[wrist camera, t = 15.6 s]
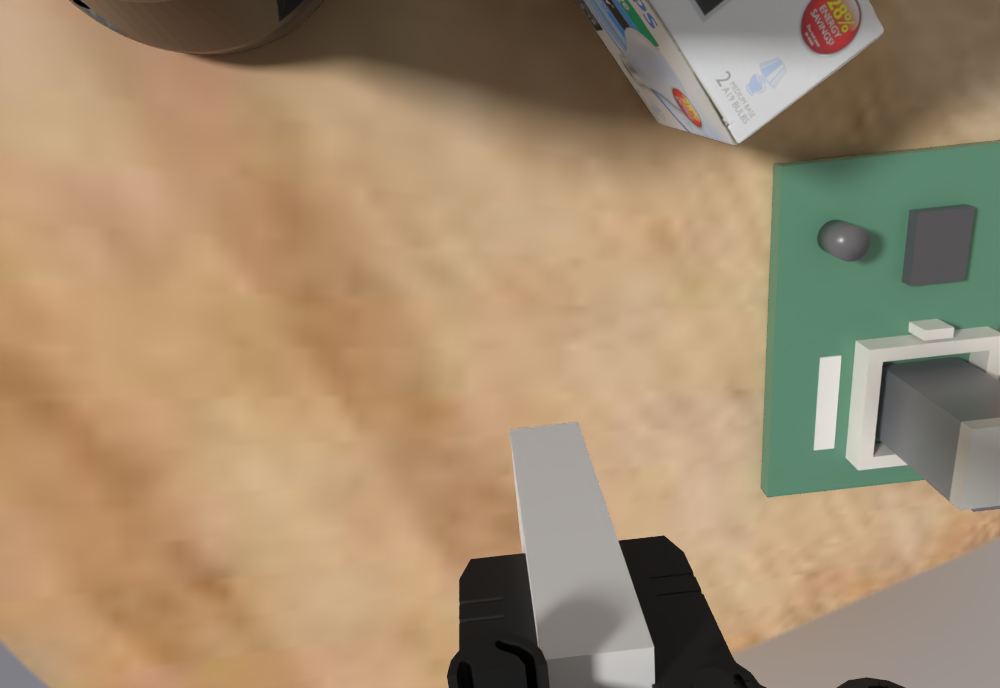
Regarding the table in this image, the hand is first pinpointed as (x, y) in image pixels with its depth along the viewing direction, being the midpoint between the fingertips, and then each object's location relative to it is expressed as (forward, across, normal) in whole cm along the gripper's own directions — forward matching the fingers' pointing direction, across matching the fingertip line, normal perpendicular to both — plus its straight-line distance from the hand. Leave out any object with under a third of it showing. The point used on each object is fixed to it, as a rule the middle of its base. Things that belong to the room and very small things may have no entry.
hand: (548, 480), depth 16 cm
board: (+24, +22, -8) cm, 33 cm away
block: (+23, +24, -12) cm, 35 cm away
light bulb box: (+25, +9, +11) cm, 29 cm away
